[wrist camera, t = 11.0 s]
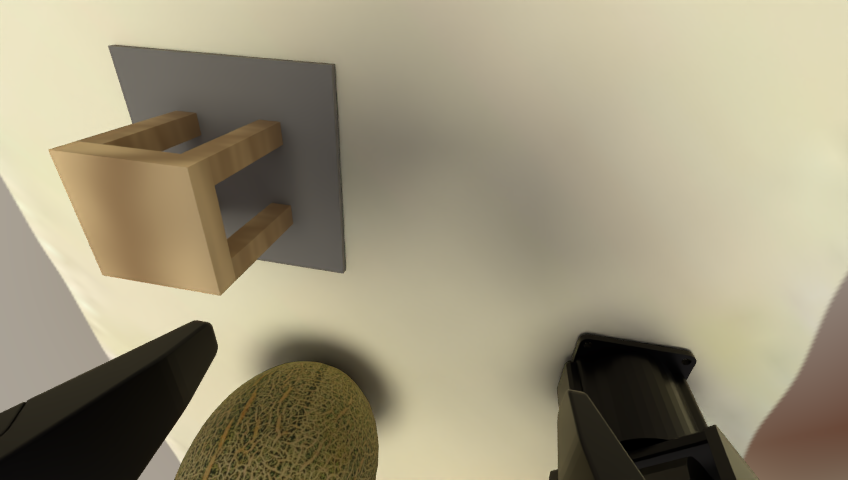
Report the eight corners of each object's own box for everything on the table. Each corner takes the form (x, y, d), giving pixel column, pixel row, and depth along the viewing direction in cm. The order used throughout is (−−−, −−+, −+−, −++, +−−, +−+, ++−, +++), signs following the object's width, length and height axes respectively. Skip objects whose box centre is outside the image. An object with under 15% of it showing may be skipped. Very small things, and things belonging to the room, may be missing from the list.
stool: (280, 121, 21) (187, 167, 15) (293, 223, 24) (220, 295, 18) (176, 110, 22) (48, 149, 16) (201, 210, 25) (102, 275, 19)
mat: (334, 64, 19) (331, 65, 19) (345, 269, 25) (343, 273, 25) (114, 44, 21) (108, 45, 20) (175, 242, 27) (170, 245, 27)
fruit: (259, 404, 34) (112, 637, 22) (257, 308, 29) (53, 549, 16) (386, 444, 34) (311, 707, 21) (411, 353, 28) (327, 642, 15)
